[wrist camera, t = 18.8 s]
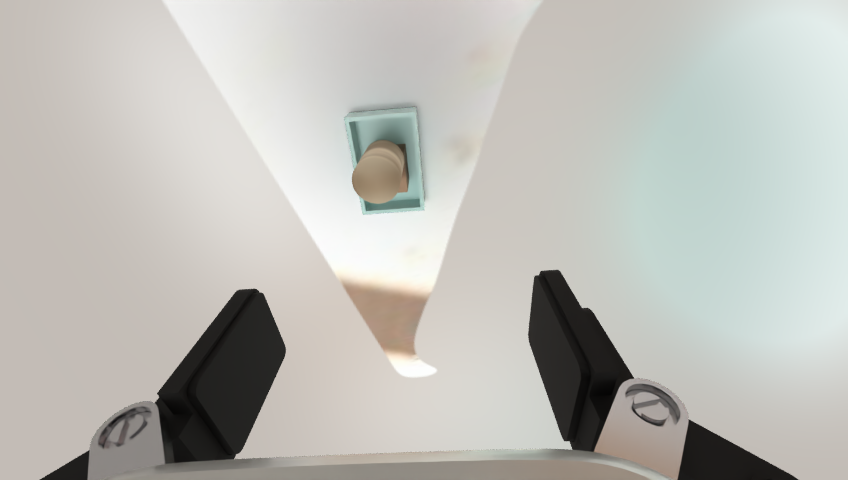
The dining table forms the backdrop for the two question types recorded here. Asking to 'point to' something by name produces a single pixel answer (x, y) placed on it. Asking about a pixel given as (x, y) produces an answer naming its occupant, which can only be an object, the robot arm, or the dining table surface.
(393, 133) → the tote
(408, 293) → the dining table surface
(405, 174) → the walnut cube
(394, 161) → the beech dowel
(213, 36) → the dining table surface
